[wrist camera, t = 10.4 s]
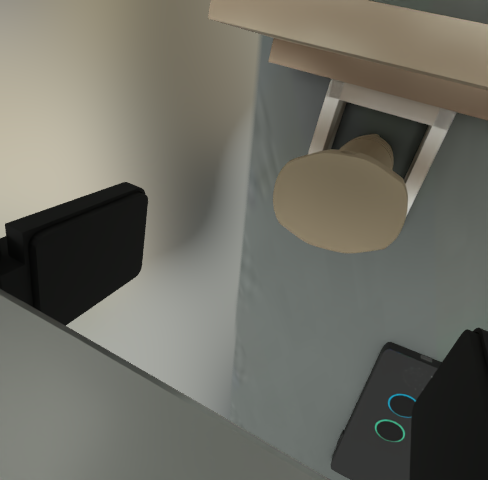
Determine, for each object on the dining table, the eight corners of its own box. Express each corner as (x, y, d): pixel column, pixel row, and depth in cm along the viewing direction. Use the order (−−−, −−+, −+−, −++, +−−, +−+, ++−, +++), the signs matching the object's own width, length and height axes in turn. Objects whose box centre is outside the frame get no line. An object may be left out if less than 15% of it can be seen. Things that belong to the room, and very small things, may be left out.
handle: (403, 188, 30) (391, 266, 18) (327, 174, 32) (268, 233, 20) (421, 129, 28) (420, 168, 16) (338, 117, 30) (279, 144, 18)
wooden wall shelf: (299, 15, 29) (215, -31, 17) (554, 72, 24) (683, 63, 12) (259, 173, 35) (178, 219, 23) (455, 243, 30) (476, 347, 18)
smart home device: (477, 385, 33) (397, 505, 42) (474, 372, 34) (398, 491, 43) (383, 347, 35) (327, 468, 44) (385, 336, 36) (330, 456, 46)
